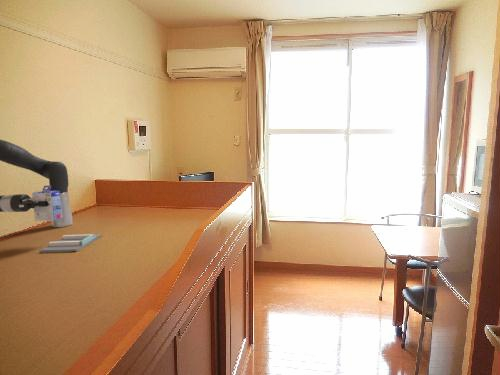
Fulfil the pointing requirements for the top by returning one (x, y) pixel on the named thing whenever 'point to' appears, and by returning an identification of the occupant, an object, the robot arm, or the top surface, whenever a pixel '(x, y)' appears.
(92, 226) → the top surface
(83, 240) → the rail plate
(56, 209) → the ink cartridge box
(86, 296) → the top surface
